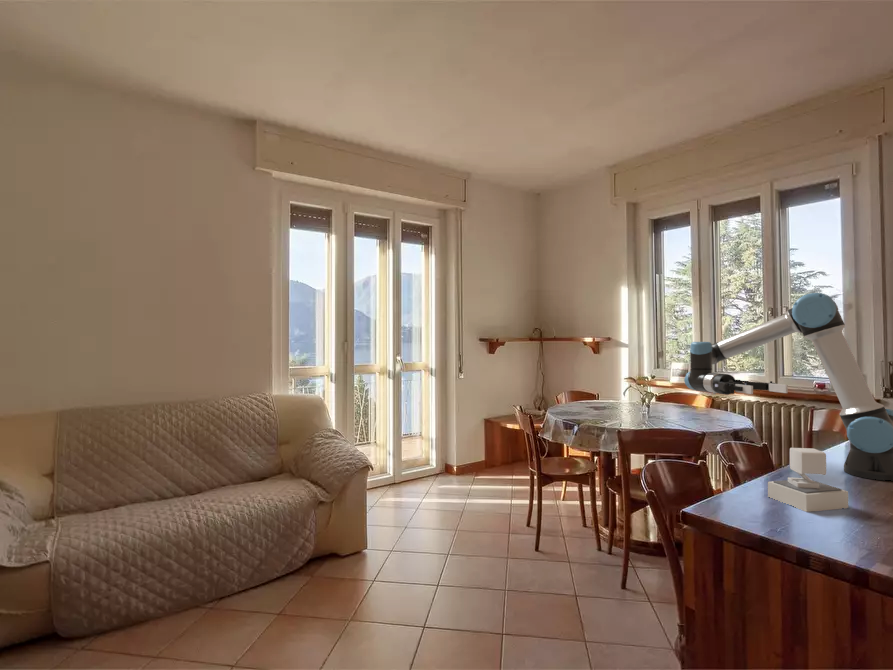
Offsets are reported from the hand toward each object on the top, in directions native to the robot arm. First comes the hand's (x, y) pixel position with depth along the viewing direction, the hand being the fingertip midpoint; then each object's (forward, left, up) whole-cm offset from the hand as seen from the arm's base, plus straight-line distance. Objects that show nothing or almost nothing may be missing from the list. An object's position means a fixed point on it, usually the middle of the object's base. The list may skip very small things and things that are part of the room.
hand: (769, 389), depth 156 cm
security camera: (+8, +20, -25) cm, 33 cm away
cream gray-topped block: (+8, +20, -30) cm, 37 cm away
